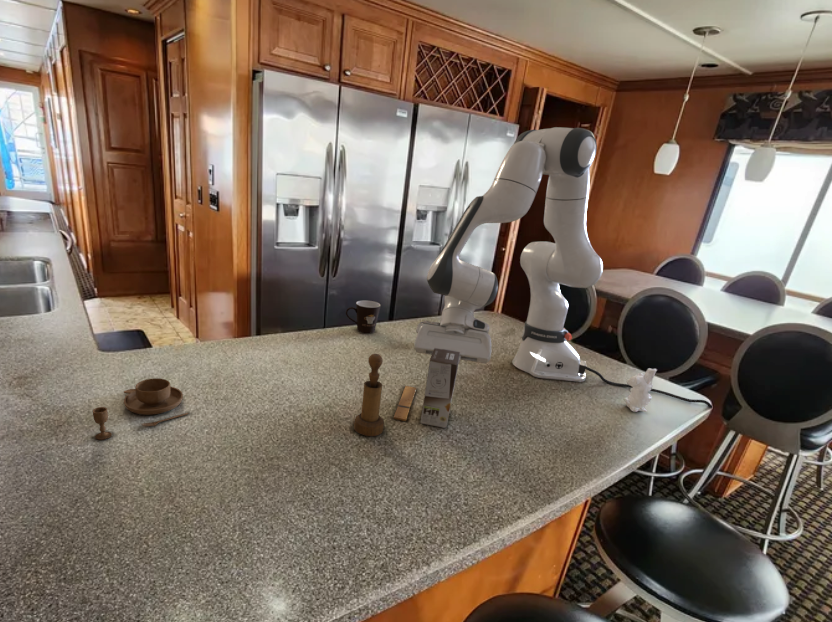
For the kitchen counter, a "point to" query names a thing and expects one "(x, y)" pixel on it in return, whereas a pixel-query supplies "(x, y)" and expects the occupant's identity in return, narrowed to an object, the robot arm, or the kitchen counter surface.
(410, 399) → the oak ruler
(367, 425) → the mortar and pestle
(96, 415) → the place setting
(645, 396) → the white animal figurine
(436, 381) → the coffee box
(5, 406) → the kitchen counter surface
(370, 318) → the coffee mug
